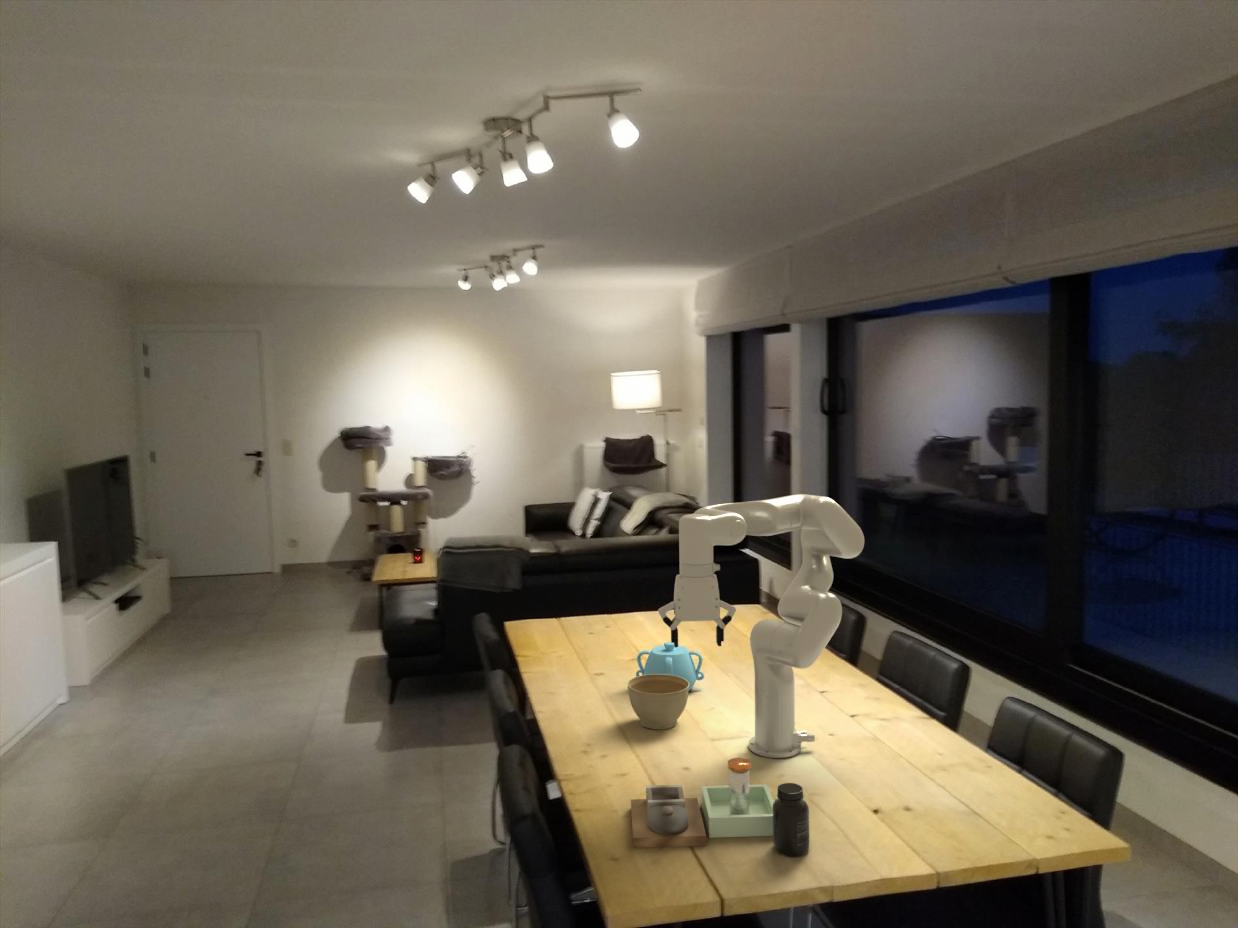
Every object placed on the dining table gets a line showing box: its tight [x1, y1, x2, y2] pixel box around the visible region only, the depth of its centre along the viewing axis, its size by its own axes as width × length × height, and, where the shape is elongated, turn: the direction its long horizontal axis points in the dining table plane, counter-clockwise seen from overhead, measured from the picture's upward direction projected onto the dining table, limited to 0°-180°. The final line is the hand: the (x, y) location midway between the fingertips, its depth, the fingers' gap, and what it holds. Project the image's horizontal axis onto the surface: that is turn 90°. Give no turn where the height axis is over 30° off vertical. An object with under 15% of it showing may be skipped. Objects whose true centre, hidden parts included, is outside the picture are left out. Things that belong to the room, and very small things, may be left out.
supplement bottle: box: [772, 782, 810, 858], centre depth 171 cm, size 7×7×12 cm
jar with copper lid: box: [727, 757, 752, 815], centre depth 182 cm, size 5×5×11 cm
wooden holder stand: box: [630, 784, 707, 849], centre depth 180 cm, size 14×16×6 cm
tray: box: [700, 783, 775, 839], centre depth 183 cm, size 14×14×4 cm
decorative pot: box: [635, 641, 705, 691], centre depth 262 cm, size 16×16×14 cm
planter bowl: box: [627, 674, 690, 730], centre depth 235 cm, size 16×16×11 cm
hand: (697, 645), depth 201 cm, fingers open, 9 cm apart
